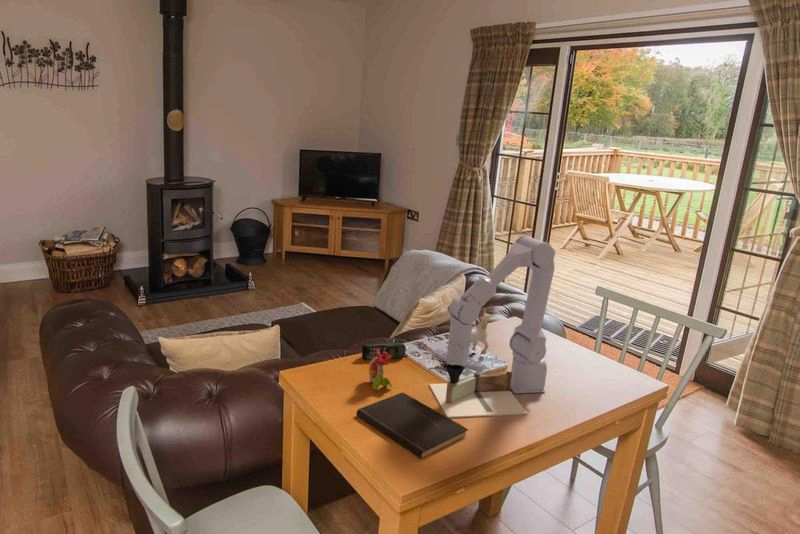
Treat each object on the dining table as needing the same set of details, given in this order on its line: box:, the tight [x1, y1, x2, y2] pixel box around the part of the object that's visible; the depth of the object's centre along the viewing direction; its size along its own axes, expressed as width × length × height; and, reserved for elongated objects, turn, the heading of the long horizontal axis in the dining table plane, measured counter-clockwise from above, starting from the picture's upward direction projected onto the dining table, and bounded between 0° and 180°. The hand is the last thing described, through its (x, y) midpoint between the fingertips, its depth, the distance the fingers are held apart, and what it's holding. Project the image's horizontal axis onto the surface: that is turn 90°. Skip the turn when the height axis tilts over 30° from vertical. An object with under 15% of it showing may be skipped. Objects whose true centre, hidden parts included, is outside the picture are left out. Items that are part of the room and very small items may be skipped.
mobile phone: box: [361, 341, 407, 360], centre depth 180 cm, size 5×3×15 cm
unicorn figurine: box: [446, 307, 491, 355], centre depth 185 cm, size 7×20×13 cm, turn 138°
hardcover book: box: [356, 392, 469, 459], centre depth 143 cm, size 16×23×2 cm
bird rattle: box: [368, 349, 393, 391], centre depth 161 cm, size 6×11×9 cm
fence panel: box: [445, 375, 476, 403], centre depth 157 cm, size 11×2×5 cm, turn 134°
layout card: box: [428, 382, 529, 419], centre depth 159 cm, size 22×18×1 cm
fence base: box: [473, 371, 512, 392], centre depth 163 cm, size 11×2×5 cm, turn 102°
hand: (453, 388), depth 158 cm, fingers closed, pressing on fence panel
